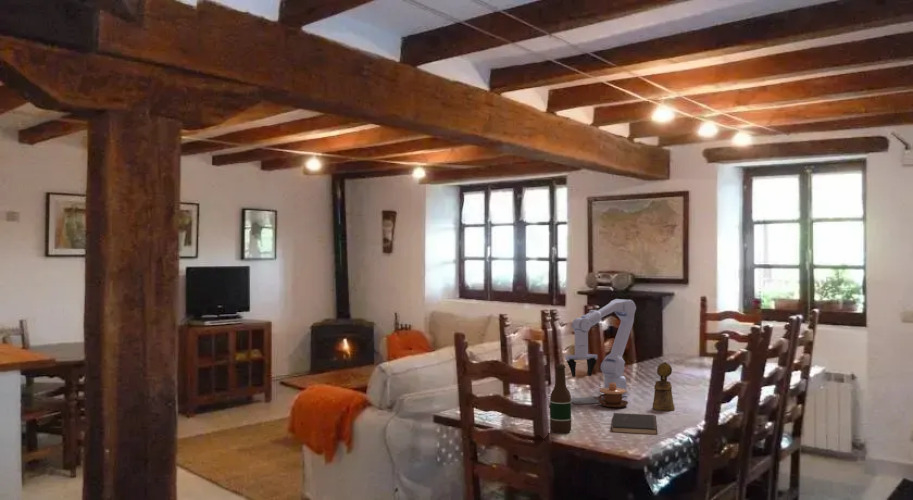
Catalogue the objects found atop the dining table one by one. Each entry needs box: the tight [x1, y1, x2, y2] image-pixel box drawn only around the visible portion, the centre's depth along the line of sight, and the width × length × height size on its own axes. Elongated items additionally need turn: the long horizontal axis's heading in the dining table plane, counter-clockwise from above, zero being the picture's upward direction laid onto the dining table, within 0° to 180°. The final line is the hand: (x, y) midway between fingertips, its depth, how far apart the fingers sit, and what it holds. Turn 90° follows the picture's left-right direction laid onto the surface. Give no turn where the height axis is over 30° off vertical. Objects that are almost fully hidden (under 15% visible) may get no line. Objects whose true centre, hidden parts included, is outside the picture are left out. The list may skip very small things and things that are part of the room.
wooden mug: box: [652, 361, 675, 412], centre depth 297 cm, size 9×14×18 cm, turn 158°
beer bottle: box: [549, 363, 572, 434], centre depth 258 cm, size 8×8×24 cm
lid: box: [599, 383, 626, 394], centre depth 300 cm, size 11×11×4 cm
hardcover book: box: [610, 412, 658, 435], centre depth 266 cm, size 16×23×2 cm
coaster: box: [571, 396, 600, 406], centre depth 310 cm, size 12×12×1 cm
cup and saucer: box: [598, 393, 629, 409], centre depth 300 cm, size 12×12×6 cm
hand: (581, 376), depth 313 cm, fingers open, 7 cm apart
